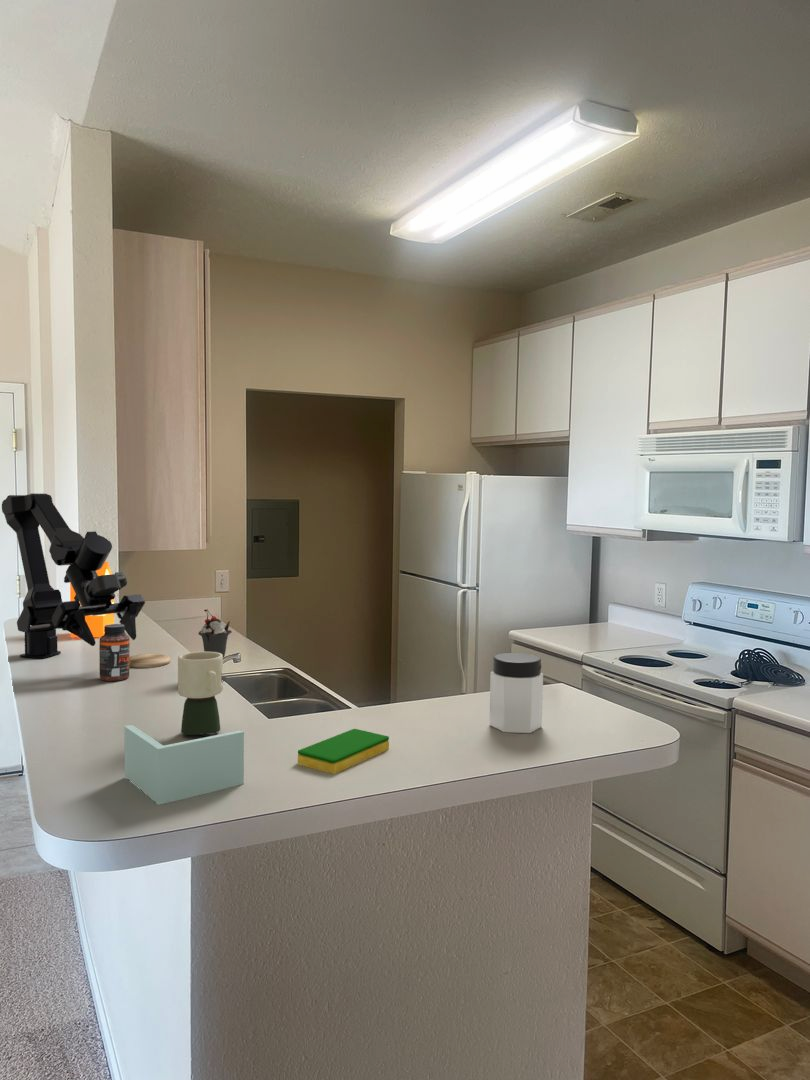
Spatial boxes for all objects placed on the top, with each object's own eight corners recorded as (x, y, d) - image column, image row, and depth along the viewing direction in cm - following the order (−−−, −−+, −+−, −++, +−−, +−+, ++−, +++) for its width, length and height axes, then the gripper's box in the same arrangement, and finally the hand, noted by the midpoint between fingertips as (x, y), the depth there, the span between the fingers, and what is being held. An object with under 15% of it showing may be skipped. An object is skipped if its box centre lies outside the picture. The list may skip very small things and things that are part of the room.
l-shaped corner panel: (243, 785, 109) (243, 731, 108) (158, 806, 101) (158, 749, 101) (205, 761, 118) (205, 711, 117) (124, 779, 110) (124, 726, 110)
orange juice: (103, 638, 210) (102, 563, 209) (70, 637, 210) (69, 562, 209) (114, 632, 218) (113, 560, 217) (82, 632, 218) (81, 559, 217)
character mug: (235, 738, 128) (235, 658, 127) (193, 746, 124) (193, 664, 123) (207, 722, 137) (207, 647, 136) (167, 729, 132) (166, 652, 131)
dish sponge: (390, 751, 124) (390, 736, 124) (333, 776, 113) (333, 760, 113) (354, 742, 128) (354, 727, 128) (296, 766, 117) (296, 750, 117)
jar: (550, 730, 134) (552, 660, 134) (510, 736, 131) (511, 664, 130) (520, 716, 142) (522, 650, 142) (481, 722, 139) (483, 654, 138)
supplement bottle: (123, 682, 163) (123, 627, 163) (94, 681, 164) (94, 627, 163) (133, 675, 169) (133, 623, 169) (106, 675, 170) (105, 622, 169)
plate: (114, 666, 178) (114, 661, 178) (140, 657, 188) (140, 652, 188) (154, 669, 175) (154, 664, 175) (178, 660, 185) (178, 655, 185)
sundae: (191, 681, 165) (191, 609, 164) (211, 674, 171) (211, 605, 170) (218, 684, 163) (218, 611, 162) (237, 677, 169) (237, 607, 168)
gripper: (57, 563, 161) (85, 622, 155) (139, 557, 175) (169, 612, 169) (39, 598, 167) (66, 657, 160) (121, 590, 181) (149, 644, 174)
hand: (114, 641), depth 166 cm, fingers open, 9 cm apart
